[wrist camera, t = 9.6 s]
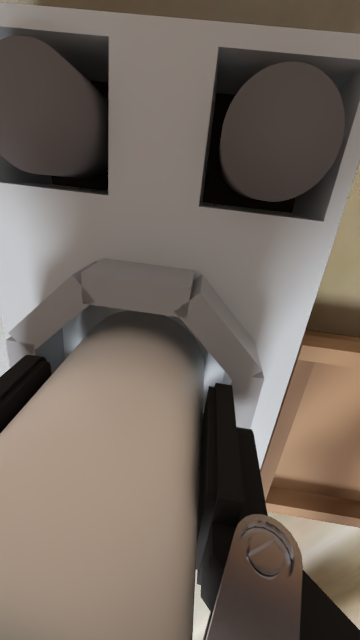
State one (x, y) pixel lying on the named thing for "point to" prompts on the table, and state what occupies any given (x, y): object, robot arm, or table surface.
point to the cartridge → (105, 489)
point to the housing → (173, 204)
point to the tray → (318, 435)
